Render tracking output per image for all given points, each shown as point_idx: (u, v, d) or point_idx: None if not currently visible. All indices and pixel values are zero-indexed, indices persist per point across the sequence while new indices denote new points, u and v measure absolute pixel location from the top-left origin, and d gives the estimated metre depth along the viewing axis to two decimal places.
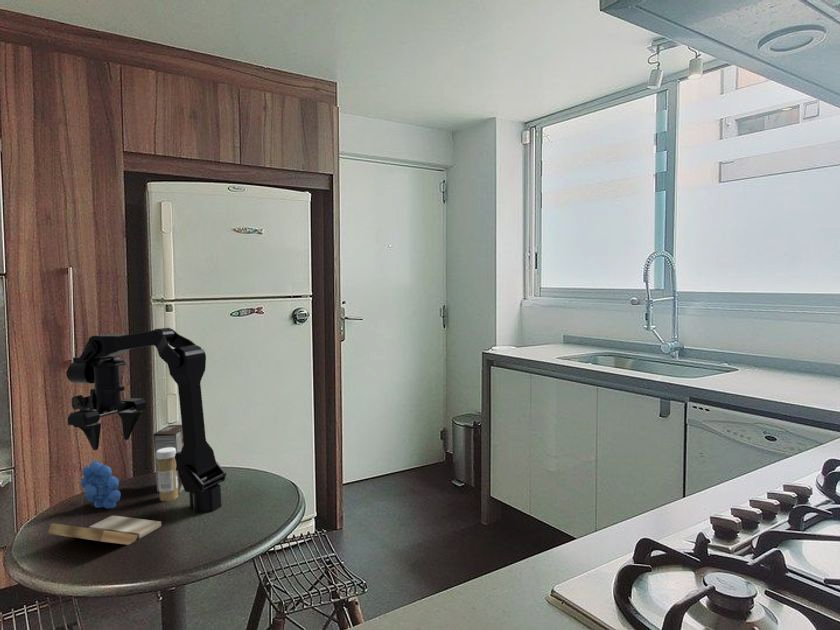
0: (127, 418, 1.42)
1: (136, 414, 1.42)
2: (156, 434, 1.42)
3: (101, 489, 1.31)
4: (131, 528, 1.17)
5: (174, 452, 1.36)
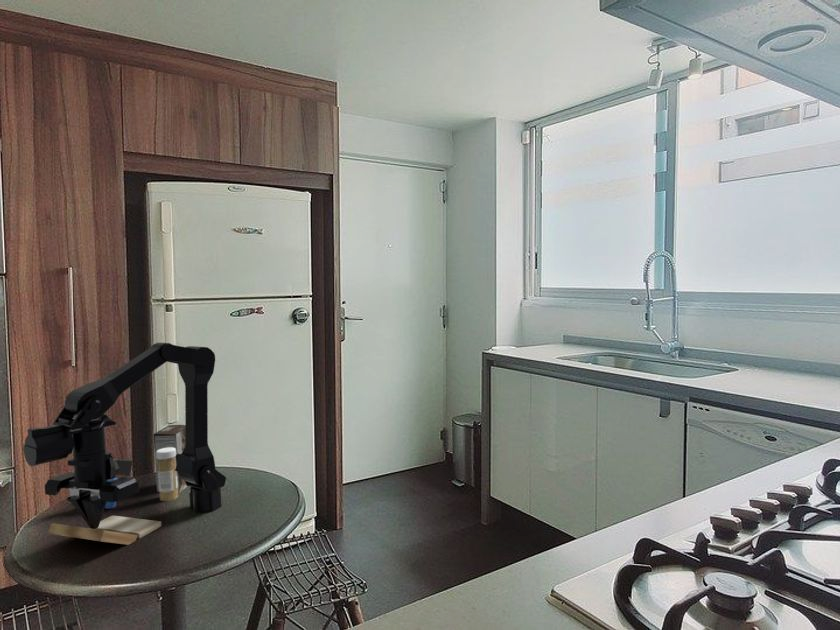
0: None
1: (83, 502, 1.06)
2: (156, 434, 1.42)
3: None
4: (131, 528, 1.17)
5: (174, 452, 1.36)
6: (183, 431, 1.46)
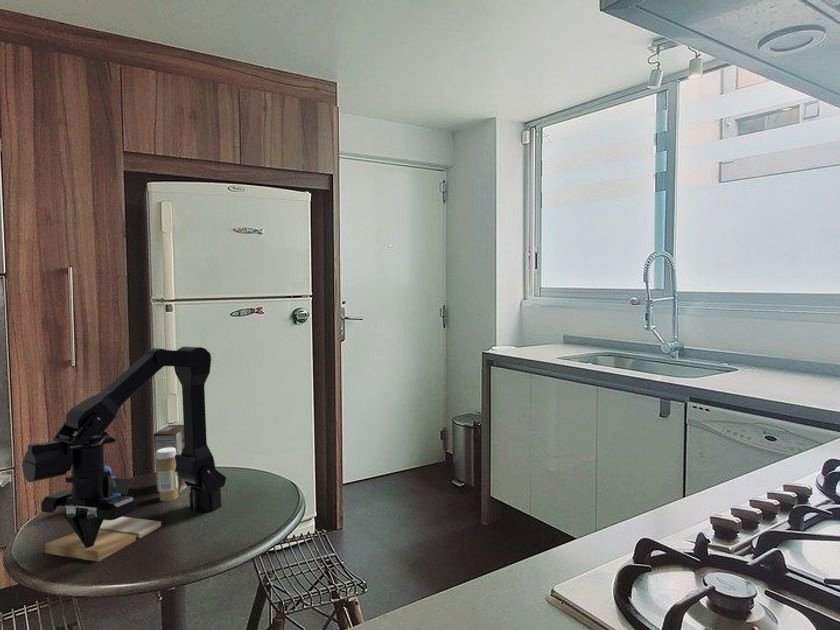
0: None
1: (80, 520, 1.05)
2: (156, 434, 1.42)
3: None
4: (131, 528, 1.17)
5: (174, 452, 1.36)
6: (183, 431, 1.46)
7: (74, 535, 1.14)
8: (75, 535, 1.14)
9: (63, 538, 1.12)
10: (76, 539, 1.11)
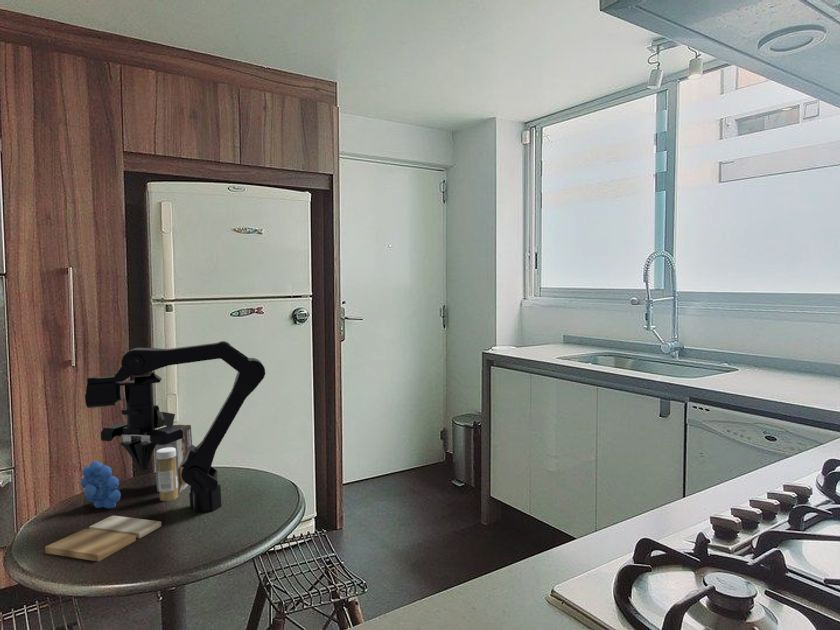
0: None
1: (135, 446, 1.21)
2: None
3: (101, 489, 1.31)
4: (131, 528, 1.17)
5: (174, 452, 1.36)
6: (183, 431, 1.46)
7: (74, 536, 1.14)
8: (75, 536, 1.14)
9: (63, 540, 1.12)
10: (75, 541, 1.11)
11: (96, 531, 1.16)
